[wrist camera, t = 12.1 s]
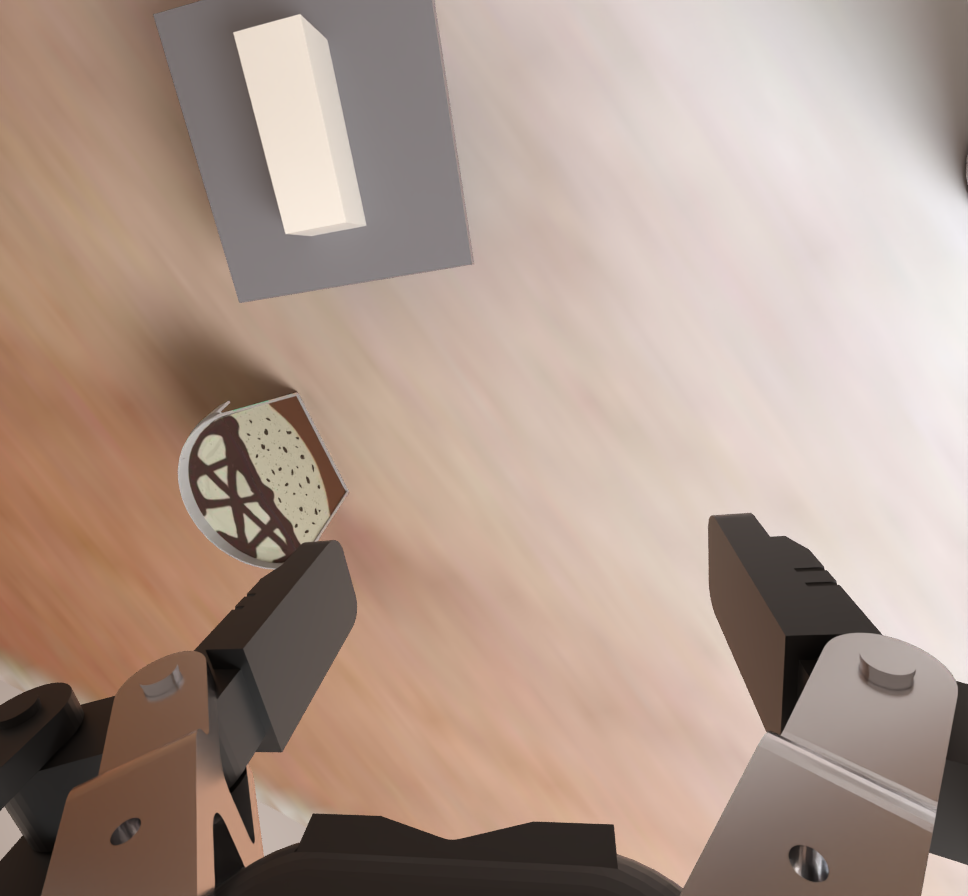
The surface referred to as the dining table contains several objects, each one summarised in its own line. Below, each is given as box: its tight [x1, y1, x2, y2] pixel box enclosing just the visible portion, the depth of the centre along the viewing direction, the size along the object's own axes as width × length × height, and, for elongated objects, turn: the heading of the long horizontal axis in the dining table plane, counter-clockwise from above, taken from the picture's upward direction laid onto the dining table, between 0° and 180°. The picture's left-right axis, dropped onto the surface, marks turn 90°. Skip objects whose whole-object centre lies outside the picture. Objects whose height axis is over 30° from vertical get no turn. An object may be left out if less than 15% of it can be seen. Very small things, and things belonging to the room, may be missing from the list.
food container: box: [178, 392, 349, 569], centre depth 39 cm, size 12×6×10 cm, turn 22°
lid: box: [153, 0, 474, 303], centre depth 27 cm, size 15×15×4 cm
